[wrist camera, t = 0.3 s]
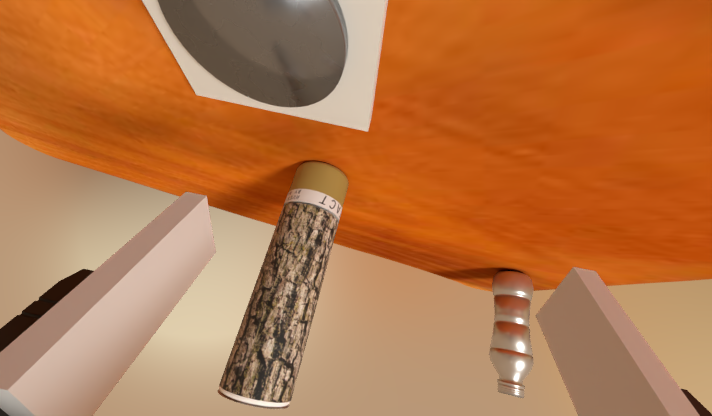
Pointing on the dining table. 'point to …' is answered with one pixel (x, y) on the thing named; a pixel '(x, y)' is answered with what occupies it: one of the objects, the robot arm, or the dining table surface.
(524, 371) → the plastic bottle
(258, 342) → the paper tube
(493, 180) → the dining table surface
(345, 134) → the dining table surface
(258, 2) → the domed button base
